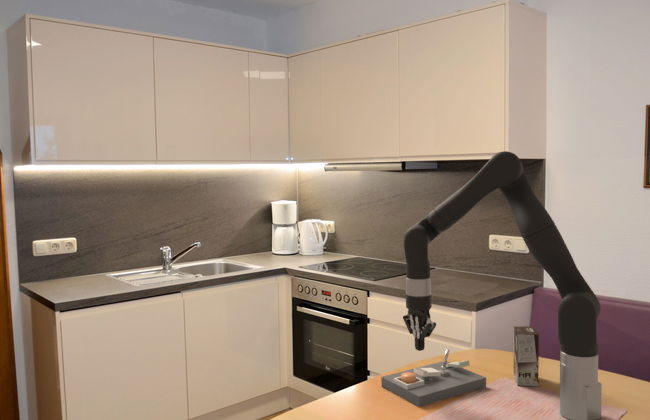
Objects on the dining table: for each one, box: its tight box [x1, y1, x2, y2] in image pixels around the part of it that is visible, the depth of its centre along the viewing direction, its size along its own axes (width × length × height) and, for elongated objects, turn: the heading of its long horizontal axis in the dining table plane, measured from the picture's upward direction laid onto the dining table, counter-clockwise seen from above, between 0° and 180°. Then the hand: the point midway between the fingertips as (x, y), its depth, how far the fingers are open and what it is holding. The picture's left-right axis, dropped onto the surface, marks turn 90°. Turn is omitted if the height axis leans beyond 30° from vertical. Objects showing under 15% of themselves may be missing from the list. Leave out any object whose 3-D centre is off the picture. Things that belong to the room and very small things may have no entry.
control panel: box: [380, 360, 487, 408], centre depth 169 cm, size 18×26×4 cm
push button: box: [401, 372, 416, 384], centre depth 165 cm, size 4×4×2 cm
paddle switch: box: [448, 359, 470, 368], centre depth 175 cm, size 6×4×2 cm, turn 30°
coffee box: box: [512, 325, 540, 387], centre depth 172 cm, size 9×6×16 cm
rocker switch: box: [413, 367, 441, 377], centre depth 168 cm, size 4×7×1 cm, turn 120°
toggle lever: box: [441, 348, 450, 371], centre depth 172 cm, size 1×1×7 cm
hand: (419, 349), depth 166 cm, fingers closed
